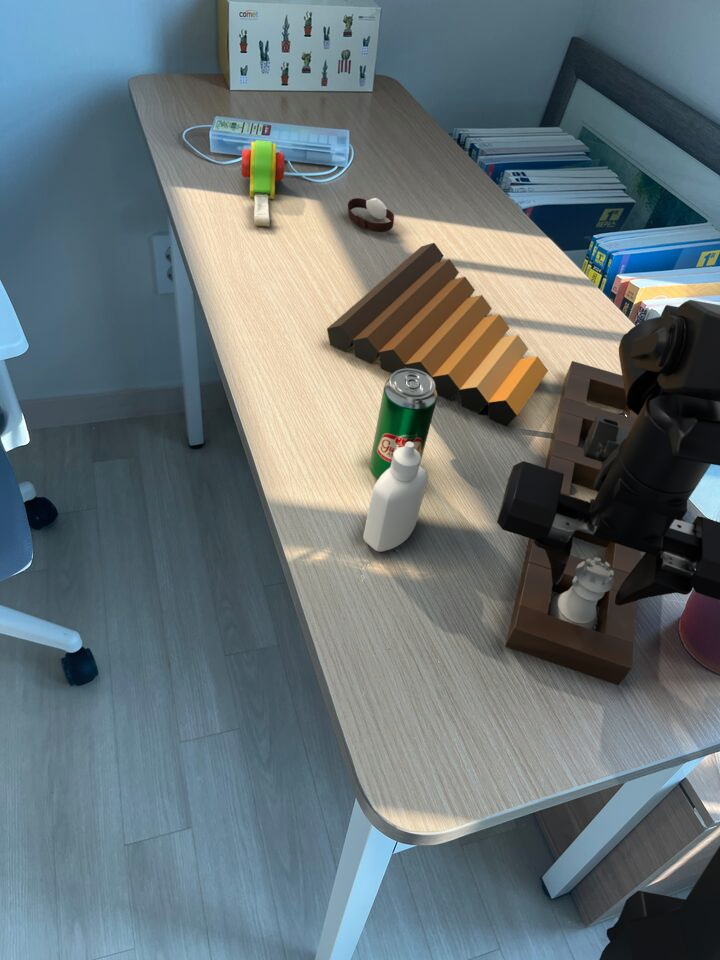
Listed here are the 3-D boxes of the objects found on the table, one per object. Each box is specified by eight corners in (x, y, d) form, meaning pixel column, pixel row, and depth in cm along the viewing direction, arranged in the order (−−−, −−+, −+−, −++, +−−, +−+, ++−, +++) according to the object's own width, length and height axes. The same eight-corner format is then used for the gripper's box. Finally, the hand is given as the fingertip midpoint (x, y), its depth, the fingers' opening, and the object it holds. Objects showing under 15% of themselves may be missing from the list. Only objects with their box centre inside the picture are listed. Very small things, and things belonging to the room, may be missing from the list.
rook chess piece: (534, 609, 69) (561, 556, 63) (573, 595, 71) (603, 542, 65) (562, 649, 66) (593, 598, 60) (602, 634, 68) (636, 583, 62)
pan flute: (418, 259, 108) (325, 342, 92) (422, 238, 105) (327, 319, 89) (582, 327, 101) (512, 429, 85) (590, 305, 98) (520, 406, 83)
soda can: (367, 486, 76) (384, 397, 68) (370, 451, 80) (386, 362, 71) (416, 493, 77) (440, 404, 68) (417, 457, 80) (439, 369, 71)
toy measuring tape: (282, 168, 122) (284, 127, 117) (283, 230, 109) (285, 186, 104) (242, 165, 121) (243, 123, 116) (238, 227, 108) (238, 183, 103)
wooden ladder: (618, 686, 64) (632, 668, 62) (504, 646, 66) (514, 628, 63) (645, 403, 91) (655, 384, 89) (564, 380, 93) (572, 360, 90)
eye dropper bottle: (355, 520, 73) (371, 430, 65) (409, 512, 75) (432, 423, 66) (367, 555, 70) (386, 466, 62) (423, 546, 72) (449, 458, 63)
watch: (399, 227, 113) (402, 204, 111) (382, 239, 110) (385, 216, 108) (356, 208, 116) (359, 186, 113) (339, 219, 113) (341, 196, 110)
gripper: (785, 432, 58) (695, 556, 69) (547, 362, 60) (498, 493, 72) (797, 536, 50) (694, 656, 62) (525, 452, 53) (473, 582, 64)
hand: (586, 590), depth 65 cm, fingers open, 5 cm apart
